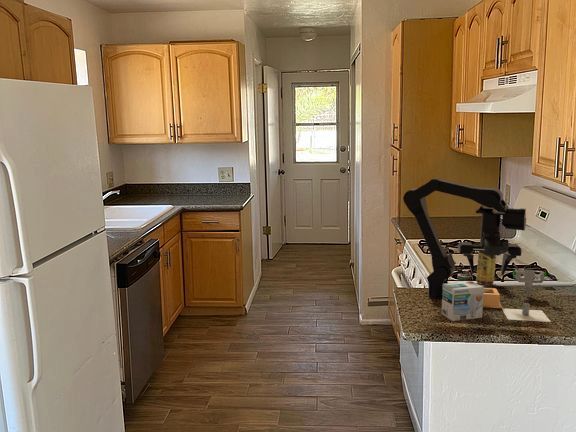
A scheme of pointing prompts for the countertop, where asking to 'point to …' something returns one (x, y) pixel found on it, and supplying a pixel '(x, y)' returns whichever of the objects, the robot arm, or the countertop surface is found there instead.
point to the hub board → (520, 317)
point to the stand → (492, 306)
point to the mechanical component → (528, 279)
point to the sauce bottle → (485, 268)
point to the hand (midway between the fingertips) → (487, 274)
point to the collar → (491, 297)
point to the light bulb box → (462, 300)
